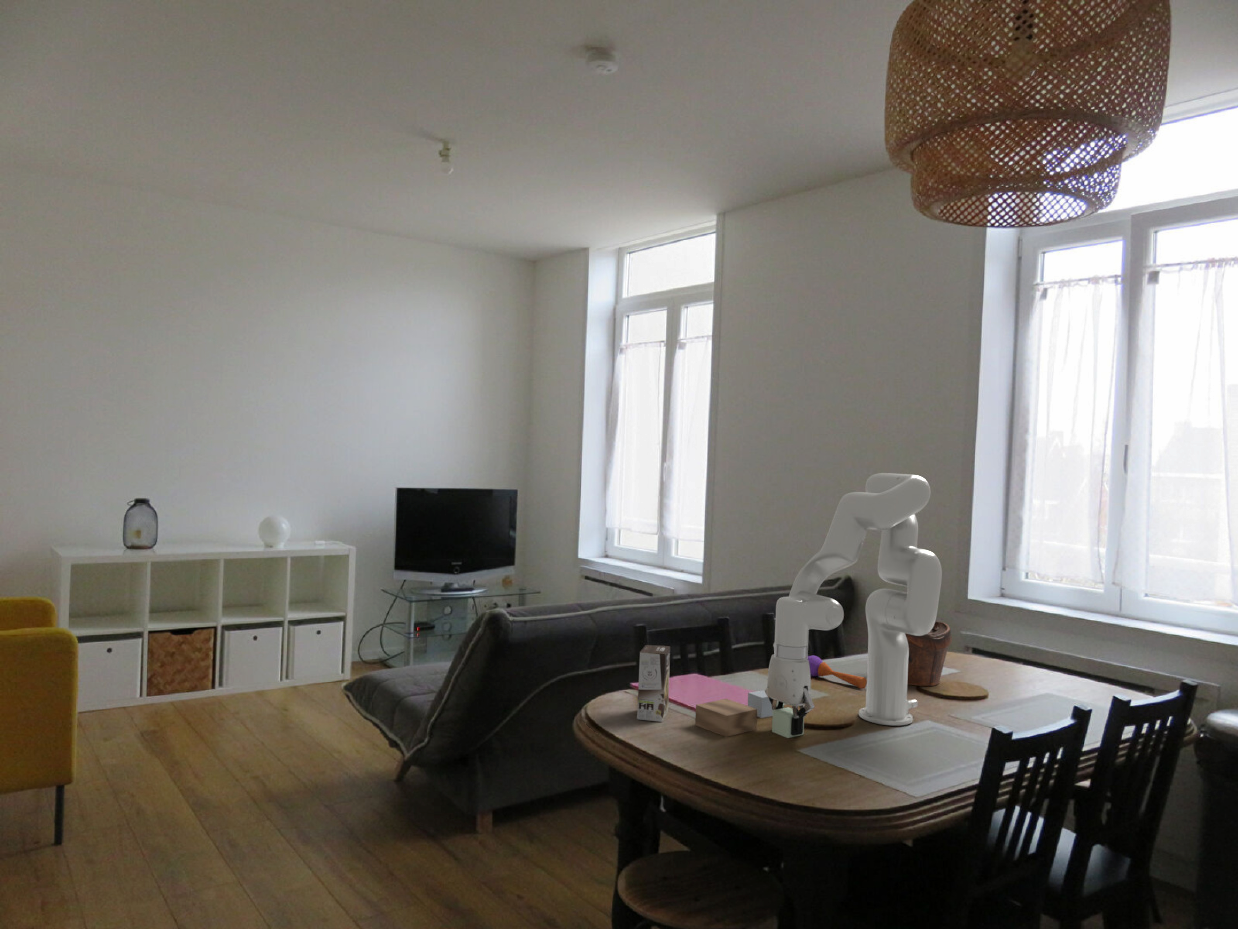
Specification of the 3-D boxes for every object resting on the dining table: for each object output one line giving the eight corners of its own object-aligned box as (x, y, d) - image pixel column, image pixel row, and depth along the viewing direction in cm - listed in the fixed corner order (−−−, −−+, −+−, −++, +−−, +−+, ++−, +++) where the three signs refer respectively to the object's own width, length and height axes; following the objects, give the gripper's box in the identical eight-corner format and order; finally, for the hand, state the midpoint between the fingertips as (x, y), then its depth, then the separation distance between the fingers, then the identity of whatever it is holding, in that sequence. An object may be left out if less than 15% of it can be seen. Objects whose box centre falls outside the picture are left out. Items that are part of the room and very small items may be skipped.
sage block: (787, 728, 207) (788, 707, 207) (803, 734, 202) (804, 713, 202) (772, 731, 204) (772, 710, 204) (787, 738, 200) (788, 716, 200)
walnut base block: (725, 719, 213) (726, 698, 213) (756, 730, 205) (757, 709, 205) (695, 726, 207) (695, 705, 207) (726, 738, 199) (726, 716, 199)
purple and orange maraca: (856, 677, 243) (798, 656, 258) (857, 697, 244) (798, 676, 259) (869, 670, 246) (811, 650, 261) (869, 690, 248) (811, 669, 263)
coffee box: (663, 722, 208) (665, 653, 208) (636, 720, 209) (638, 651, 209) (669, 711, 217) (671, 645, 216) (643, 709, 218) (645, 643, 218)
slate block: (762, 710, 221) (763, 690, 221) (776, 715, 217) (777, 695, 217) (747, 713, 218) (748, 692, 218) (761, 718, 214) (762, 697, 214)
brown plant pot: (957, 678, 260) (958, 617, 260) (941, 693, 243) (943, 628, 243) (895, 669, 270) (897, 610, 269) (876, 683, 253) (877, 620, 253)
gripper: (753, 645, 208) (750, 723, 208) (806, 661, 194) (803, 744, 194) (776, 642, 212) (773, 718, 212) (830, 658, 198) (827, 739, 198)
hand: (787, 730), depth 203 cm, fingers closed on sage block, 5 cm apart
